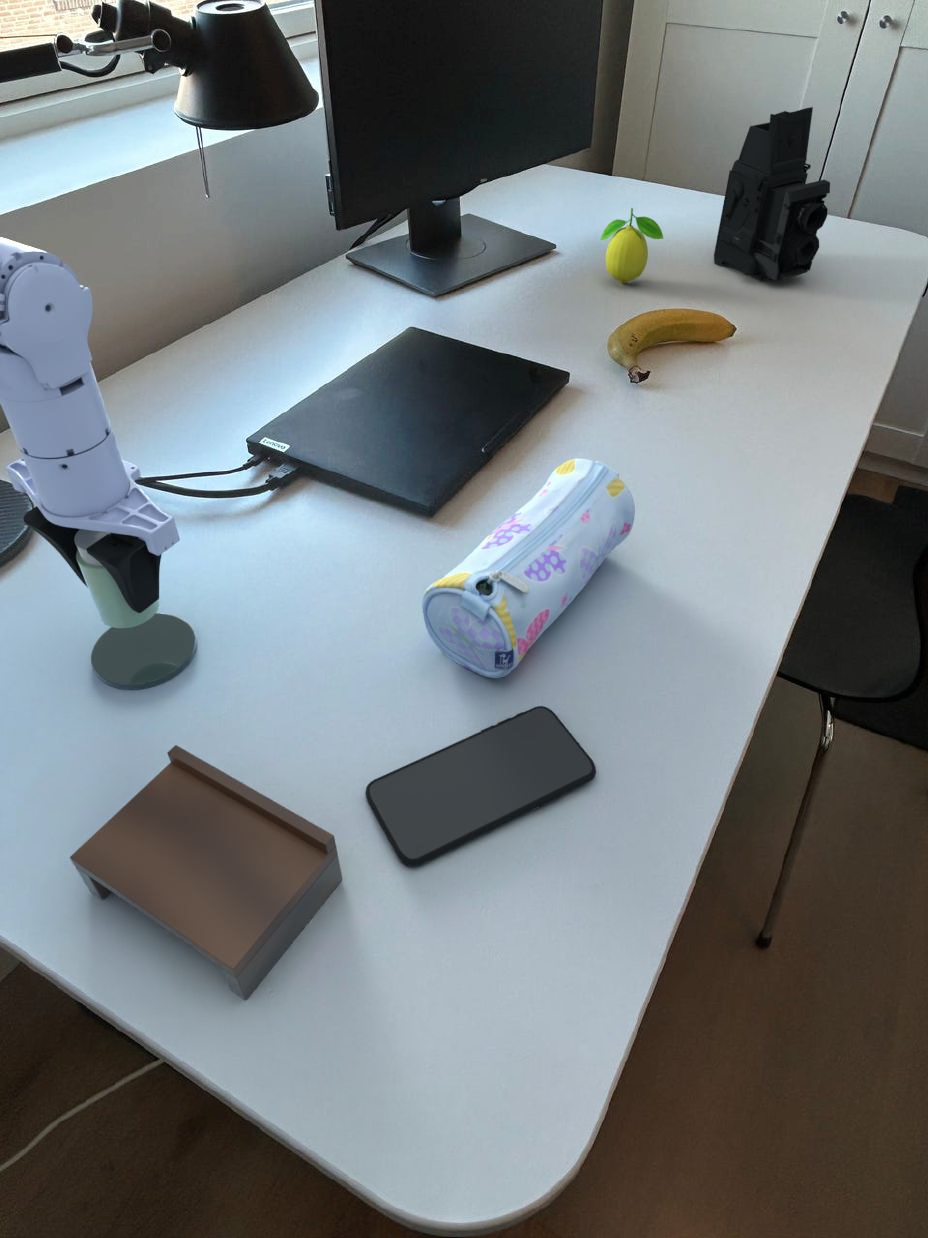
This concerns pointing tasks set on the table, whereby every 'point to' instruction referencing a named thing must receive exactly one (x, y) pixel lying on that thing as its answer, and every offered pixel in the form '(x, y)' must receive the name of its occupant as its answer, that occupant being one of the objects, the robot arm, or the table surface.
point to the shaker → (106, 586)
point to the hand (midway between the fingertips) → (123, 592)
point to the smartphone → (478, 784)
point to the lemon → (629, 247)
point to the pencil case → (529, 568)
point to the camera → (772, 202)
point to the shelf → (214, 866)
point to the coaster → (144, 652)
